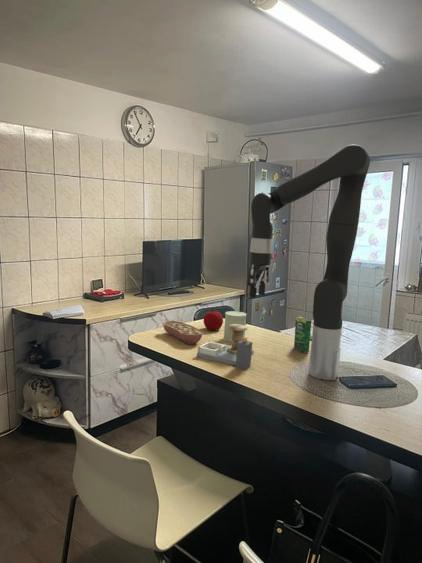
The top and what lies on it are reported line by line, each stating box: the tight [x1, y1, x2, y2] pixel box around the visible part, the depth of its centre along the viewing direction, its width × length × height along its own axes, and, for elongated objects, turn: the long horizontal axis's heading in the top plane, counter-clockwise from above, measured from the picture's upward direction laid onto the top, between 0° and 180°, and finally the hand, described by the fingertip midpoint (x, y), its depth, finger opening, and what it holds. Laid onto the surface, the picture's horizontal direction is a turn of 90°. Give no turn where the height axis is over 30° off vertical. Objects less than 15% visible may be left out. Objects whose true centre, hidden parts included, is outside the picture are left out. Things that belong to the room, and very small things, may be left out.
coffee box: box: [293, 316, 312, 354], centre depth 167 cm, size 8×3×13 cm, turn 17°
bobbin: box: [227, 324, 248, 354], centre depth 156 cm, size 7×7×10 cm
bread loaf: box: [162, 320, 203, 345], centre depth 174 cm, size 23×10×5 cm, turn 36°
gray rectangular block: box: [235, 336, 253, 371], centre depth 143 cm, size 4×4×11 cm
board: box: [196, 341, 254, 366], centre depth 155 cm, size 16×16×4 cm
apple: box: [203, 309, 224, 331], centre depth 191 cm, size 9×9×10 cm
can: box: [222, 310, 247, 344], centre depth 176 cm, size 9×9×12 cm
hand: (257, 296), depth 148 cm, fingers open, 8 cm apart
